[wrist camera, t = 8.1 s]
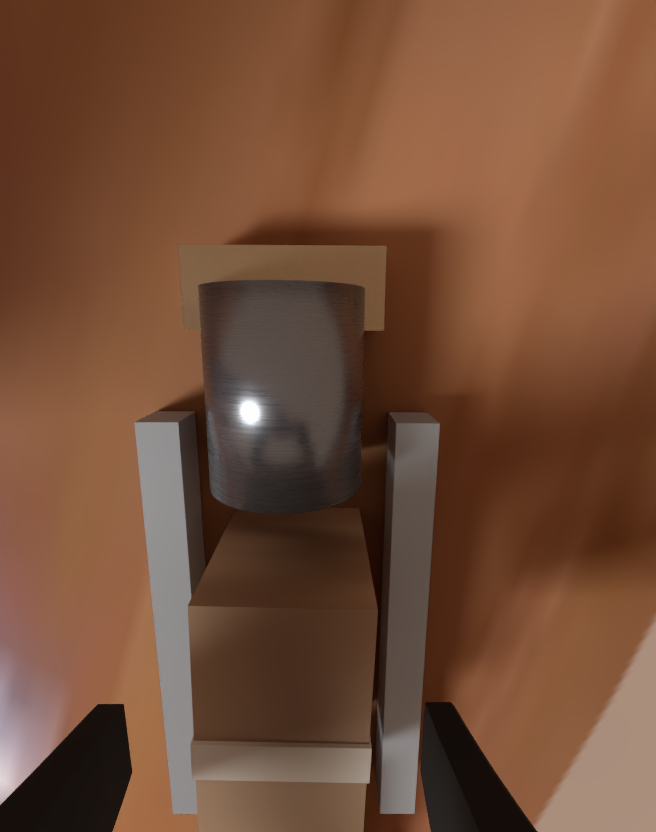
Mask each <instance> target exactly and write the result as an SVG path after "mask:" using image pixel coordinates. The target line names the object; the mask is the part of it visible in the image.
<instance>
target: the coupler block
mask: <svg viewBox="0 0 656 832" xmlns="http://www.w3.org/2000/svg"><path fill="white" fill-rule="evenodd" d="M377 619H378V608H377V602H376V597H375V591H374V586H373V580H372V575H371V569H370V564H369V558H368V553H367V547H366V542H365V536H364V531H363V526H362V520H361V515H360V509H359V508H338V507H328V508H325V509H321V510H316V511H310V512H303V513H293V514H265V513H255V512H249V511H244V510H239V509H235V511H234V513H233V515H232V517H231V519H230V521H229V523H228V525H227V527H226V529H225V531H224V533H223V535H222V537H221V539H220V541H219V543H218V545H217V547H216V549H215V551H214V553H213V555H212V557H211V560H210V562H209V564H208V566H207V568H206V570H205V572H204V574H203V576H202V578H201V580H200V582H199V584H198V586H197V588H196V590H195V592H194V594H193V596H192V598H191V600H190V602H189V604H188V624H189V645H190V667H191V688H192V710H193V731H194V735H193V738H192V741H191V744H190V748H191V769H192V780H196V795H197V817H198V832H363V829H364V814H365V799H366V784H367V783H370V768H371V753H372V746H371V737H370V724H371V709H372V694H373V679H374V664H375V649H376V634H377Z"/></svg>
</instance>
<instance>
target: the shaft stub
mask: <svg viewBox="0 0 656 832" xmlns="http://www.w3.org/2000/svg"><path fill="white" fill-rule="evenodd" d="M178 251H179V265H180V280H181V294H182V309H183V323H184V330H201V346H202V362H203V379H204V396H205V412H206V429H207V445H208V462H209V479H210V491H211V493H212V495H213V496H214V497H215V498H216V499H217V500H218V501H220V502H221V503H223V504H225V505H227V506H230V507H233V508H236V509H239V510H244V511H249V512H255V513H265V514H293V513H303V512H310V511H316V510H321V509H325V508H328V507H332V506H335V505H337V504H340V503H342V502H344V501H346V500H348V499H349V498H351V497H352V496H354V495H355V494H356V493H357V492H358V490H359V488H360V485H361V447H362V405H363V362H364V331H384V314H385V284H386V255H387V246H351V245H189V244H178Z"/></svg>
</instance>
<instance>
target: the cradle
mask: <svg viewBox="0 0 656 832" xmlns="http://www.w3.org/2000/svg"><path fill="white" fill-rule="evenodd" d="M134 423H135V433H136V443H137V453H138V463H139V473H140V483H141V494H142V504H143V514H144V524H145V534H146V544H147V554H148V564H149V574H150V585H151V595H152V605H153V615H154V625H155V635H156V645H157V655H158V666H159V676H160V686H161V696H162V706H163V716H164V726H165V736H166V747H167V757H168V767H169V777H170V787H171V797H172V807H173V814H197V795H196V780H192V769H191V748H190V744H191V741H192V738H193V735H194V731H193V710H192V688H191V667H190V645H189V624H188V604H189V602H190V600H191V598H192V596H193V594H194V592H195V590H196V588H197V586H198V584H199V582H200V580H201V578H202V576H203V574H204V572H205V570H206V568H205V553H204V537H203V522H202V507H201V492H200V477H199V461H198V446H197V431H196V416H195V411H156V412H154V413H152V414H150V415H148V416H146V417H144V418H142V419H140V420H138V421H136V422H134ZM439 431H440V423H439V422H438V421H437V420H435V419H434V418H433V417H432V416H431V415H430V414H428V413H427V412H388V438H387V465H386V491H385V518H384V544H383V571H382V598H381V624H380V651H379V678H378V704H377V731H376V758H375V772H376V782H377V791H378V800H379V809H380V814H414V813H415V798H416V782H417V767H418V752H419V736H420V721H421V706H422V691H423V675H424V660H425V645H426V630H427V614H428V599H429V584H430V569H431V553H432V538H433V523H434V507H435V492H436V477H437V462H438V446H439Z"/></svg>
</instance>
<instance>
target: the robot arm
mask: <svg viewBox="0 0 656 832" xmlns="http://www.w3.org/2000/svg"><path fill="white" fill-rule="evenodd" d="M131 774H132V767H131V759H130V751H129V743H128V735H127V727H126V719H125V711H124V704H98V705H97V706H96V707H95V708H94V709H93V710H92V711H91V712H90V713H89V714H88V715H87V716H86V717H85V718H84V719H83V720H82V721H81V722H80V723H79V724H78V725H77V726H76V727H75V728H74V730H73V731H72V732H71V733H70V734H69V735H68V736H67V737H66V738H65V739H64V740H63V741H62V742H61V743H60V744H59V745H58V746H57V747H56V749H55V750H54V751H53V752H52V753H51V754H50V755H49V756H48V757H47V758H46V759H45V760H44V761H43V762H42V763H41V764H40V765H39V766H38V767H37V768H36V769H35V770H34V771H33V772H32V773H31V775H30V776H29V777H28V778H27V779H26V780H25V781H24V782H23V783H22V784H21V785H20V786H19V787H18V788H17V789H16V790H15V791H14V792H13V793H12V794H11V795H10V796H9V797H8V798H7V799H6V800H5V801H4V802H3V803H2V804H1V805H0V832H112V831H113V828H114V825H115V822H116V820H117V817H118V814H119V811H120V808H121V805H122V802H123V799H124V796H125V793H126V790H127V787H128V784H129V780H130V777H131ZM421 776H422V782H423V788H424V794H425V800H426V806H427V812H428V817H429V823H430V828H431V832H537V831H536V829H535V828H534V827H533V825H532V824H531V823H530V821H529V820H528V818H527V817H526V816H525V814H524V813H523V811H522V810H521V809H520V807H519V806H518V804H517V803H516V801H515V800H514V798H513V797H512V796H511V794H510V793H509V791H508V790H507V788H506V787H505V785H504V784H503V783H502V781H501V780H500V778H499V777H498V775H497V774H496V772H495V771H494V769H493V768H492V766H491V765H490V763H489V762H488V760H487V758H486V757H485V755H484V754H483V752H482V751H481V749H480V748H479V746H478V744H477V743H476V741H475V740H474V738H473V736H472V735H471V733H470V732H469V730H468V728H467V727H466V725H465V723H464V722H463V720H462V718H461V717H460V715H459V713H458V711H457V710H456V708H455V706H454V705H453V704H452V703H451V702H425V712H424V727H423V741H422V756H421Z"/></svg>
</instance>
